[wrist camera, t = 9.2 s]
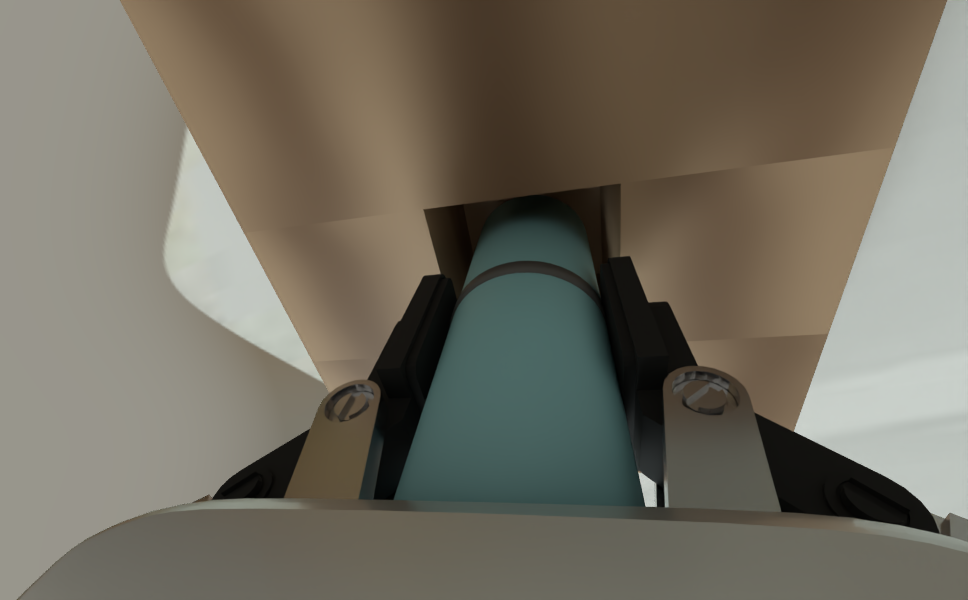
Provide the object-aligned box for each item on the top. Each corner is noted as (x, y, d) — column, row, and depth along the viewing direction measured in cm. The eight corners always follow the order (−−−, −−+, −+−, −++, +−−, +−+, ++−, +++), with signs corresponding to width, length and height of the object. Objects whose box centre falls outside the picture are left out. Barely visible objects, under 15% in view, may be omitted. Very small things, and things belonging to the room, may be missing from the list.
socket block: (829, -183, 11) (1082, -380, 6) (723, 370, 21) (778, 473, 16) (249, -22, 14) (91, -53, 9) (405, 383, 25) (370, 470, 20)
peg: (587, 185, 13) (710, 620, 3) (590, 289, 15) (674, 740, 6) (468, 201, 14) (290, 587, 4) (488, 297, 16) (399, 703, 6)
